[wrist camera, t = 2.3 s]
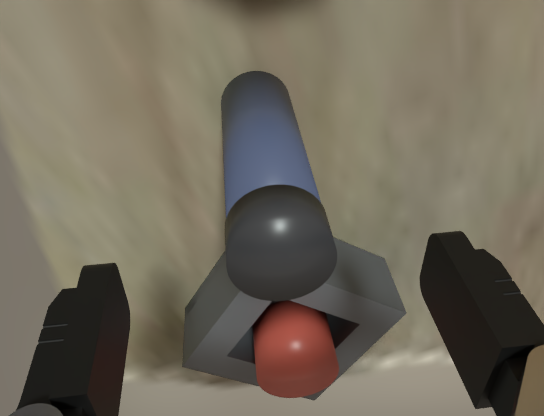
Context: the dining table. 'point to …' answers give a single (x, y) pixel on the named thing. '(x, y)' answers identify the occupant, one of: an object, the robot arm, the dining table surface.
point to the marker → (271, 195)
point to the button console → (327, 298)
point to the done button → (293, 350)
